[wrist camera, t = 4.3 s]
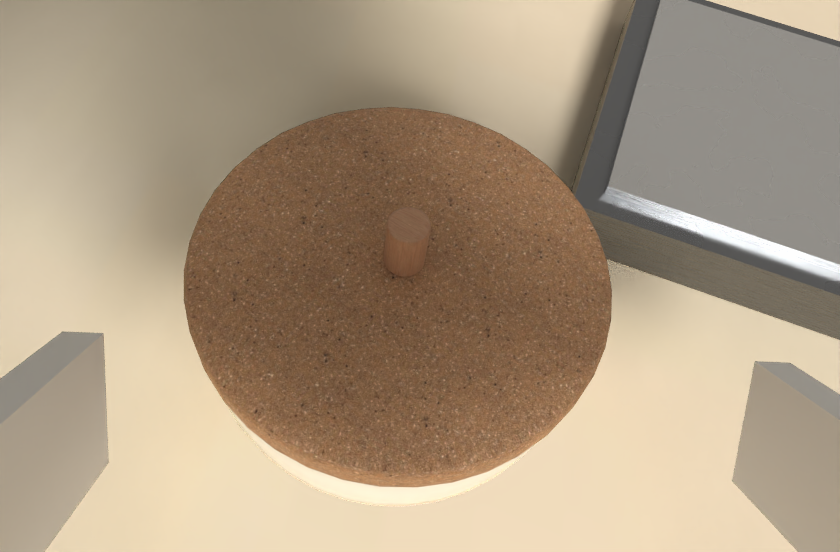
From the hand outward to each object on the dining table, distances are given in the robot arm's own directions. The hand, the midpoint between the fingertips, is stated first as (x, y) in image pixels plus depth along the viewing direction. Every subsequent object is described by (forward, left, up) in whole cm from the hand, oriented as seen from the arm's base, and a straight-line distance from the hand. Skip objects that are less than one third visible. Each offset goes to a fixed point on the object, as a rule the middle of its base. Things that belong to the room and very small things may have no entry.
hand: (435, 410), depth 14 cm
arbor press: (+21, +19, -9) cm, 29 cm away
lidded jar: (-2, +4, -9) cm, 10 cm away
